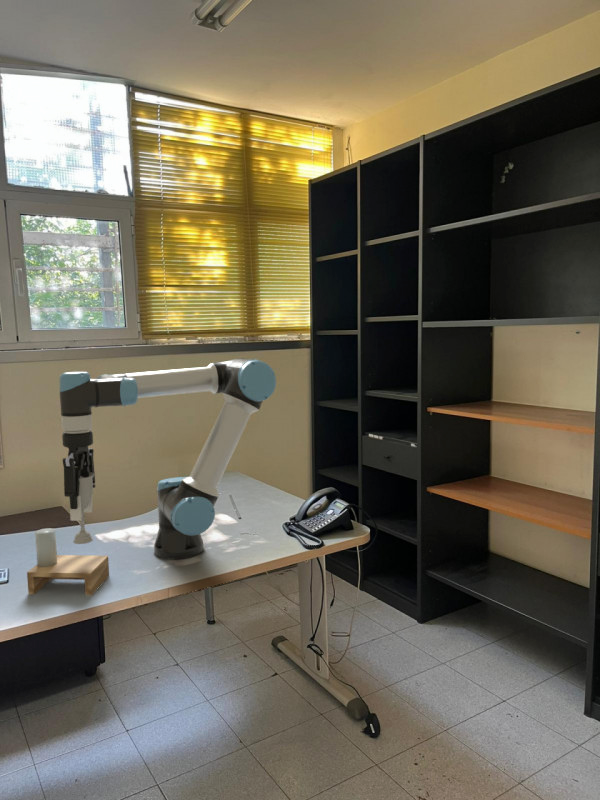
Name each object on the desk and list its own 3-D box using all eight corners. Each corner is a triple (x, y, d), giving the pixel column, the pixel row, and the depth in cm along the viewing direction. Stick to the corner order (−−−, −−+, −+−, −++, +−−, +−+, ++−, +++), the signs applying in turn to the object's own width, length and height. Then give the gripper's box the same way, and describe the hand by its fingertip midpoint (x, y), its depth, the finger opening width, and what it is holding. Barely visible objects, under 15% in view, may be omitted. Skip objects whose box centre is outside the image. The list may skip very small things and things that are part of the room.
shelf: (109, 576, 166) (108, 555, 165) (91, 595, 154) (90, 573, 153) (50, 575, 167) (49, 554, 166) (28, 594, 155) (26, 572, 154)
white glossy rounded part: (60, 559, 162) (58, 528, 161) (51, 567, 157) (49, 534, 156) (43, 559, 163) (41, 528, 162) (33, 567, 158) (31, 534, 157)
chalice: (83, 547, 154) (80, 479, 152) (63, 543, 157) (60, 477, 154) (102, 537, 161) (100, 473, 159) (82, 534, 163) (80, 470, 161)
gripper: (79, 424, 165) (83, 505, 168) (45, 437, 146) (51, 527, 149) (105, 425, 164) (109, 505, 167) (75, 437, 145) (80, 528, 148)
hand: (82, 515), depth 158 cm, fingers closed on chalice, 6 cm apart
